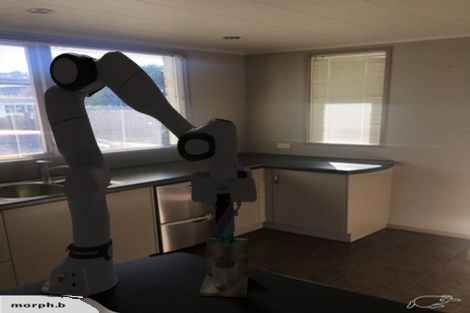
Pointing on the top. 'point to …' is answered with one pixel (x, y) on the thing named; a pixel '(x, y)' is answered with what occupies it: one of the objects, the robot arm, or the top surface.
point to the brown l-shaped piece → (235, 253)
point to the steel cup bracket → (225, 273)
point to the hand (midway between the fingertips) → (224, 215)
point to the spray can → (224, 218)
